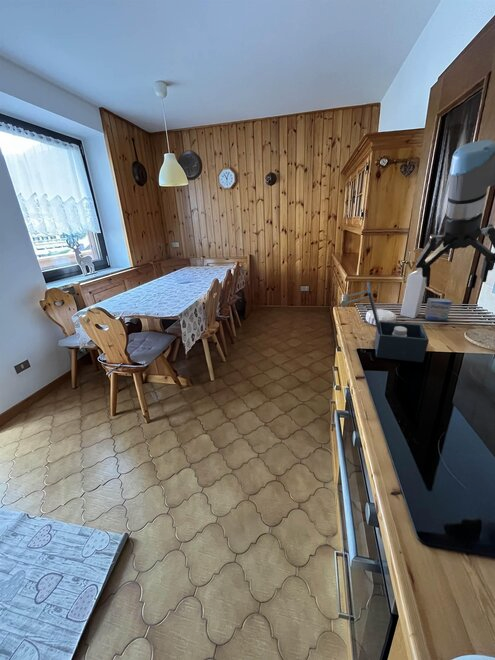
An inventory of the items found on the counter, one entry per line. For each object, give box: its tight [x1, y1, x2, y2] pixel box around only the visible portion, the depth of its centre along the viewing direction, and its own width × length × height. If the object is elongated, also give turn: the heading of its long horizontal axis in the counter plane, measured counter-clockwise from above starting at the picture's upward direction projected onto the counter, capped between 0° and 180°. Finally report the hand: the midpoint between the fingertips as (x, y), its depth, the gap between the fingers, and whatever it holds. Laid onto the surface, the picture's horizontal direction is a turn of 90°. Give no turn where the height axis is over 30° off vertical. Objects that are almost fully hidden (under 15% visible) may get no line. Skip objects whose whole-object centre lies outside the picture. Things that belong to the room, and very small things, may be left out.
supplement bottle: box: [392, 326, 407, 337], centre depth 100 cm, size 5×5×8 cm
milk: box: [399, 268, 427, 319], centre depth 123 cm, size 6×6×22 cm
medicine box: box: [423, 297, 453, 322], centre depth 122 cm, size 8×4×9 cm, turn 73°
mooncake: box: [365, 308, 397, 327], centre depth 124 cm, size 12×12×4 cm
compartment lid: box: [340, 281, 381, 334], centre depth 100 cm, size 16×12×10 cm
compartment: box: [374, 321, 430, 363], centre depth 101 cm, size 15×12×9 cm
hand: (454, 282), depth 84 cm, fingers open, 13 cm apart
